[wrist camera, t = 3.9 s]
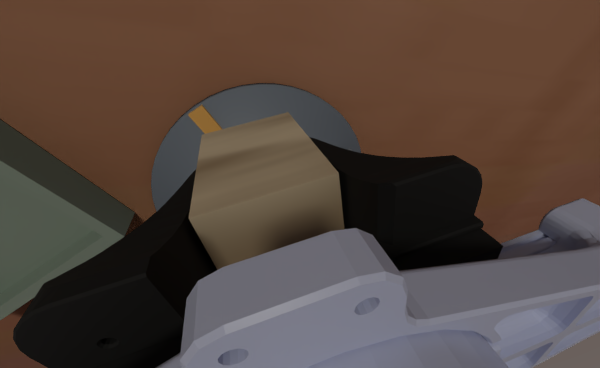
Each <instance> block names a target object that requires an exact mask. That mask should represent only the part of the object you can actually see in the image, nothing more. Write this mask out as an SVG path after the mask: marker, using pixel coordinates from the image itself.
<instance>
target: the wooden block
mask: <svg viewBox="0 0 600 368" xmlns="http://www.w3.org/2000/svg"><path fill="white" fill-rule="evenodd" d="M189 220H190V222H191V224H192V226H193V227H194V229H195V231H196V233H197V234H198V236H199V238H200V240H201V242H202V243H203V245H204V247H205V249H206V250H207V252H208V254H209V256H210V257H211V259H212V261H213V263H214V265H215V266H216V268H217V270H219V269H220V268H222V267H224V266H227V265H230V264H233V263H236V262H239V261H242V260H245V259H248V258H251V257H255V256H258V255H261V254H264V253H267V252H270V251H273V250H276V249H279V248H282V247H285V246H288V245H291V244H294V243H297V242H300V241H303V240H306V239H309V238H312V237H315V236H318V235H321V234H324V233H327V232H330V231H336V230H344V220H343V210H342V200H341V191H340V181H339V173H338V171H337V170H336V169H335V168H334V167H333V165H332V164H331V163H330V162H329V161H328V159H327V158H326V157H325V156H324V155H323V153H322V152H321V151H320V150H319V149H318V147H317V146H316V145H315V144H314V143H313V141H312V140H311V139H310V138H309V137H308V135H307V134H306V133H305V132H304V131H303V129H302V128H301V127H300V126H299V125H298V123H297V122H296V121H295V120H294V119H293V117H292V116H291V115H290V114H289V113H288V112H286V113H283V114H279V115H275V116H271V117H267V118H264V119H260V120H256V121H252V122H248V123H245V124H241V125H237V126H233V127H229V128H225V129H222V130H218V131H214V132H210V133H206V134H203V135H202V137H201V143H200V149H199V155H198V162H197V168H196V174H195V181H194V187H193V193H192V199H191V206H190V212H189Z"/></svg>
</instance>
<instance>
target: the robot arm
mask: <svg viewBox="0 0 600 368" xmlns="http://www.w3.org/2000/svg"><path fill="white" fill-rule="evenodd" d="M309 138H310V139H311V140H312V141H313V143H314V144H315V145H316V146H317V147H318V149H319V150H320V151H321V152H322V153H323V155H324V156H325V157H326V158H327V159H328V161H329V162H330V163H331V164H332V165H333V167H334V168H335V169H336V170H337V171H338V173H339V181H340V191H341V200H342V210H343V220H344V230H336V231H330V232H327V233H324V234H321V235H318V236H315V237H312V238H309V239H306V240H303V241H300V242H297V243H294V244H291V245H288V246H285V247H282V248H279V249H276V250H273V251H270V252H267V253H264V254H261V255H258V256H255V257H251V258H248V259H245V260H242V261H239V262H236V263H233V264H230V265H227V266H224V267H222V268H220V269H219V270H217V268H216V266H215V265H214V263H213V261H212V259H211V257H210V256H209V254H208V252H207V250H206V249H205V247H204V245H203V243H202V242H201V240H200V238H199V236H198V234H197V233H196V231H195V229H194V227H193V226H192V224H191V222H190V220H189V212H190V206H191V199H192V193H193V187H194V181H195V174H196V170H195V171H194V172H193V173H192V174H191V175H190V176H189V177H188V178H187V180H186V181H185V182H184V183H183V184H182V186H181V187H180V188H179V189H178V190H177V191H176V192H175V194H174V195H173V196H172V197H171V198H170V199H169V200H168V201H167V202H166V203H165V204H164V205H163V206H162V207H161V208H160V209H159V210H158V211H157V212H156V213H155V214H153V215H152V216H151V217H150V218H149V219H148V220H146V221H145V222H144V223H143V224H142V225H140V226H139V227H137V228H136V229H135V230H133V231H132V232H131V233H129V234H128V235H127V236H125V237H124V238H122V239H121V240H120V241H118V242H117V243H115V244H113V245H112V246H110V247H109V248H107V249H106V250H104V251H102V252H101V253H99V254H97V255H96V256H94V257H92V258H91V259H89V260H87V261H85V262H84V263H82V264H80V265H78V266H76V267H74V268H72V269H70V270H69V271H67V272H65V273H63V274H61V275H59V276H57V277H55V278H53V279H51V280H49V281H47V282H45V283H44V284H43V285H42V287H41V288H40V290H39V291H38V293H37V295H36V296H35V298H34V299H33V301H32V302H31V304H30V305H29V307H28V308H27V310H26V311H25V313H24V314H23V316H22V318H21V319H20V321H19V322H18V324H17V325H16V327H15V328H14V334H13V340H14V341H15V343H16V345H17V347H18V348H19V350H20V351H21V352H23V353H24V354H26V355H27V356H28V357H30V358H31V359H33V360H35V361H37V362H39V363H41V364H42V365H44V366H46V367H48V368H533V367H534V366H536V365H538V364H540V363H542V362H544V361H546V360H547V359H549V358H551V357H553V356H555V355H556V354H558V353H560V352H562V351H564V350H566V349H567V348H569V347H571V346H573V345H575V344H577V343H579V342H581V341H583V340H584V339H586V338H588V337H590V336H592V335H594V334H596V333H598V332H600V206H598V205H596V204H594V203H592V202H590V201H588V200H586V199H578V200H575V201H572V202H570V203H567V204H564V205H561V206H559V207H556V208H554V209H552V210H550V211H549V212H548V213H547V214H545V216H544V217H543V219H542V220H541V222H540V225H539V230H536V231H533V232H531V233H528V234H525V235H523V236H520V237H517V238H515V239H512V240H509V241H507V242H504V243H501V244H500V243H499V242H497V241H496V240H495V239H494V238H492V237H491V236H490V235H488V234H487V233H486V232H485V231H483V230H482V229H481V228H483V225H484V224H483V222H482V221H481V220H480V219H478V218H477V217H476V216H474V213H475V210H476V207H477V203H478V200H479V197H480V193H481V188H482V178H481V174H480V172H479V171H478V169H477V168H476V167H474V166H472V165H470V164H469V163H467V162H465V161H463V160H462V159H460V158H458V157H457V156H454V155H452V156H439V157H425V158H399V157H385V156H375V155H369V154H364V153H359V152H354V151H351V150H347V149H343V148H340V147H337V146H334V145H331V144H329V143H326V142H323V141H320V140H318V139H315V138H311V137H309Z"/></svg>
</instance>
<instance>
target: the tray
mask: <svg viewBox="0 0 600 368" xmlns="http://www.w3.org/2000/svg"><path fill="white" fill-rule="evenodd" d="M134 214H135V212H133V211H132V210H130V209H129V208H128V207H126V206H125V205H123V204H122V203H120V202H119V201H117V200H116V199H114V198H113V197H112V196H110V195H109V194H107V193H106V192H104V191H103V190H101V189H100V188H99V187H97V186H96V185H94V184H93V183H91V182H90V181H88V180H87V179H86V178H84V177H83V176H81V175H80V174H78V173H77V172H75V171H74V170H73V169H71V168H70V167H68V166H67V165H65V164H64V163H62V162H61V161H60V160H58V159H57V158H55V157H54V156H52V155H51V154H49V153H48V152H47V151H45V150H44V149H42V148H41V147H39V146H38V145H36V144H35V143H34V142H32V141H31V140H29V139H28V138H26V137H25V136H23V135H22V134H21V133H19V132H18V131H16V130H15V129H13V128H12V127H10V126H9V125H8V124H6V123H5V122H3V121H2V120H0V320H1V319H3V318H4V317H6V316H7V315H9V314H10V313H12V312H13V311H15V310H16V309H18V308H19V307H21V306H22V305H24V304H25V303H27V302H28V301H30V300H31V299H33V298H34V297H35V296H36V295H37V293H38V291H39V290H40V288H41V287H42V285H43V284H44V283H45V282H47V281H49V280H51V279H53V278H55V277H57V276H59V275H61V274H63V273H65V272H67V271H69V270H70V269H72V268H74V267H76V266H78V265H80V264H82V263H84V262H85V261H87V260H89V259H91V258H92V257H94V256H96V255H97V254H99V253H101V252H102V251H104V250H105V249H107V248H108V247H110V246H111V245H113V244H114V243H116V242H117V241H119V240H120V239H122V238H123V237H125V234H126V232H127V230H128V227H129V225H130V223H131V221H132V218H133V216H134Z"/></svg>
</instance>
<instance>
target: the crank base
mask: <svg viewBox="0 0 600 368" xmlns="http://www.w3.org/2000/svg"><path fill="white" fill-rule="evenodd" d="M286 112H288V113H289V114H290V115H291V116H292V117H293V119H294V120H295V121H296V122H297V123H298V125H299V126H300V127H301V128H302V129H303V131H304V132H305V133H306V134H307V135H308V137H311V138H315V139H318V140H320V141H323V142H326V143H329V144H331V145H334V146H337V147H340V148H343V149H351V150H352V151H354V152H359V153H361V150H360V146H359V143H358V141H357V138H356V135H355V134H354V132H353V130H352V128H351V126H350V125H349V124H348V122H347V121H346V120H345V119H344V117H343V116H342V115H341V114H340V113H339V112H338V111H337V110H336V109H334V108H333V107H332V106H331V105H330V104H328V103H327V102H325V101H324V100H322V99H321V98H319V97H318V96H316V95H313V94H311V93H309V92H307V91H305V90H302V89H299V88H295V87H292V86H287V85H281V84H275V83H256V84H248V85H241V86H237V87H233V88H229V89H226V90H223V91H221V92H218V93H216V94H213V95H211V96H209V97H207V98H206V99H204V100H202V101H201V102H199V103H197V104H196V105H194V106H193V107H192V108H191V109H189V110H188V111H187V112H186V113H184V114H183V115H182V116H181V117H180V118H179V119H178V121H177V122H176V123H175V124H174V125H173V126H172V127H171V129H170V130H169V132H168V133H167V135H166V136H165V138H164V140H163V141H162V144H161V146H160V148H159V150H158V153H157V155H156V157H155V161H154V166H153V170H152V180H151V188H152V197H153V201H154V204H155V208H156V211H158V210H159V209H160V208H161V207H162V206H163V205H164V204H165V203H166V202H167V201H168V200H169V199H170V198H171V197H172V196H173V195H174V194H175V192H176V191H177V190H178V189H179V188H180V187H181V186H182V184H183V183H184V182H185V181H186V180H187V178H188V177H189V176H190V175H191V174H192V173H193V172H194V171H195V170H196V168H197V162H198V155H199V149H200V143H201V137H202V135H203V134H206V133H210V132H214V131H218V130H222V129H225V128H229V127H233V126H237V125H241V124H245V123H248V122H252V121H256V120H260V119H264V118H267V117H271V116H275V115H279V114H283V113H286Z"/></svg>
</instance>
